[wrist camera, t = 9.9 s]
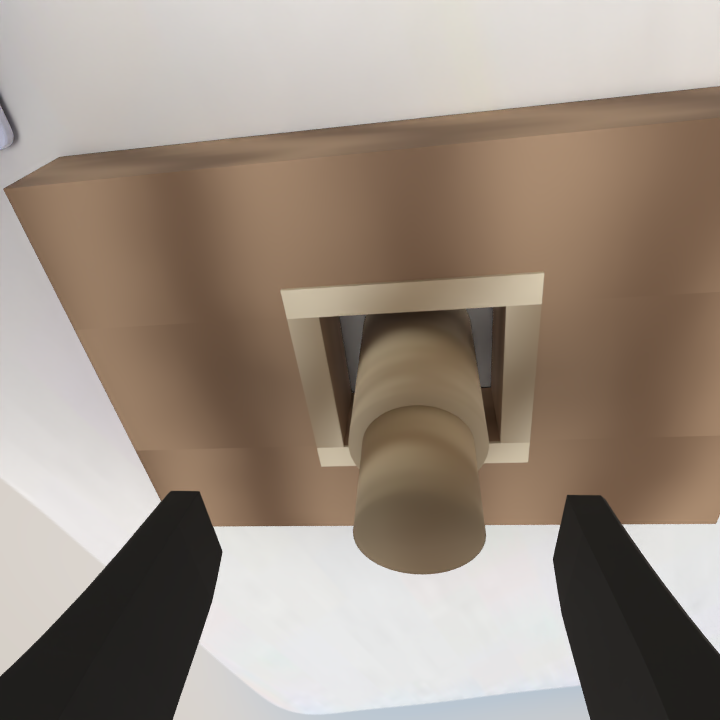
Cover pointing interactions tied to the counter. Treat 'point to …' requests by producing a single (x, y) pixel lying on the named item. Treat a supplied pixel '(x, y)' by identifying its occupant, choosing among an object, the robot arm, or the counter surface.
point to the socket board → (407, 299)
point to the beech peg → (418, 442)
